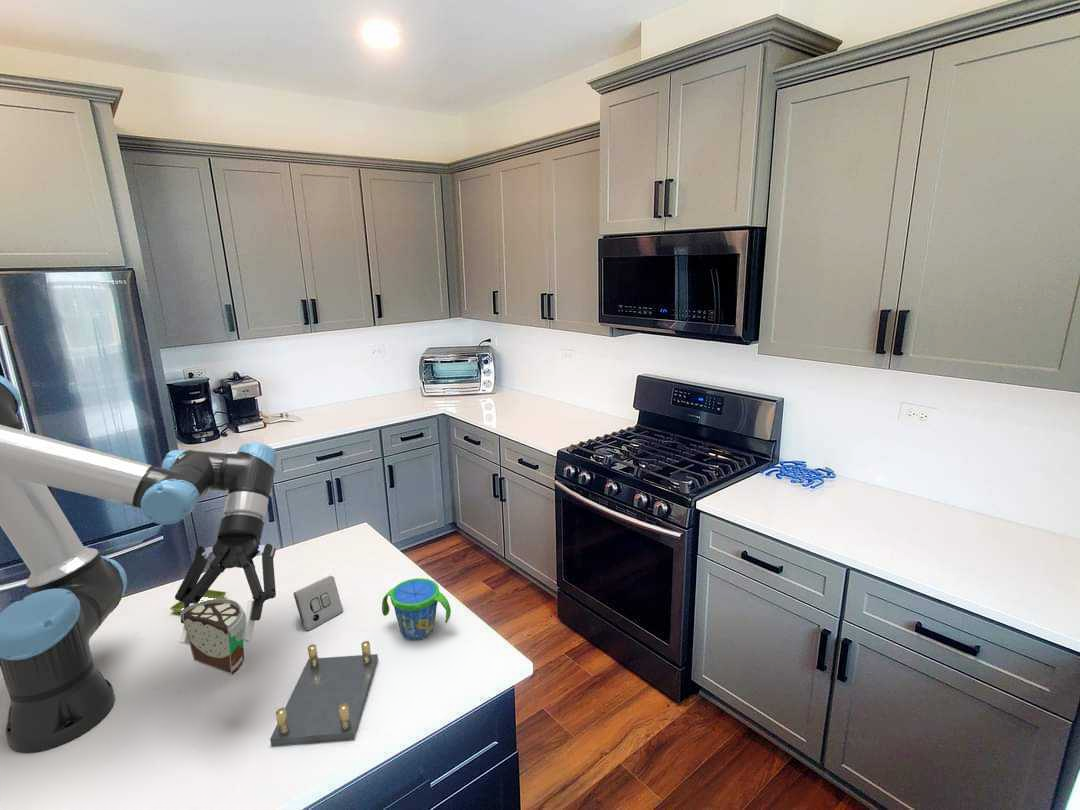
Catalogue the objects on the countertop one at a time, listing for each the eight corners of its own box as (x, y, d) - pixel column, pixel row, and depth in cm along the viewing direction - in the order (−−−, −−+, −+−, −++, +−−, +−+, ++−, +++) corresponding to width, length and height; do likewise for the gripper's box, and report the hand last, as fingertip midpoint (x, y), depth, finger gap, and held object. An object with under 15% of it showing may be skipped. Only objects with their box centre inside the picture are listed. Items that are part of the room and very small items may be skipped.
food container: (267, 654, 100) (260, 606, 97) (238, 677, 94) (229, 627, 91) (219, 637, 104) (210, 590, 101) (188, 658, 98) (178, 609, 96)
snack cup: (459, 622, 127) (457, 583, 125) (438, 652, 117) (434, 610, 115) (400, 611, 132) (396, 573, 129) (374, 639, 122) (370, 598, 120)
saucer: (170, 615, 132) (168, 608, 132) (199, 595, 141) (198, 587, 140) (200, 620, 130) (198, 612, 130) (228, 599, 139) (227, 591, 138)
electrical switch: (307, 632, 125) (299, 595, 123) (295, 625, 128) (288, 589, 126) (344, 612, 132) (337, 576, 130) (332, 606, 135) (326, 571, 133)
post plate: (271, 746, 95) (266, 719, 94) (309, 664, 114) (306, 642, 113) (354, 739, 96) (350, 713, 95) (378, 660, 115) (375, 637, 114)
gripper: (307, 523, 113) (287, 641, 101) (194, 527, 111) (161, 648, 100) (295, 510, 106) (272, 635, 95) (175, 514, 105) (137, 642, 93)
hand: (215, 641), depth 97 cm, fingers closed on food container, 9 cm apart
